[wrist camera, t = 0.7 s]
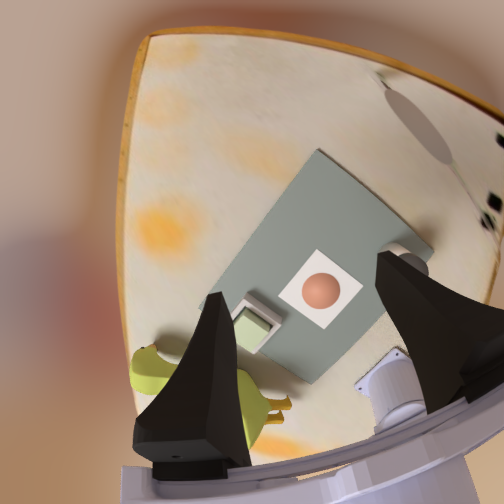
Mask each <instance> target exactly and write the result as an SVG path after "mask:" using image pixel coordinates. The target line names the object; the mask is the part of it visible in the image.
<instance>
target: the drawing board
mask: <svg viewBox="0 0 504 504" xmlns="http://www.w3.org/2000/svg"><path fill="white" fill-rule="evenodd" d="M390 242H395V243H398V244H400V245H401V246H402V247H404V248H405V249H407V250H408V251H409V252H411V253H413V254H415V255H417V256H418V257H420V258H421V259H422V260H423V261H424V262H425V263H426V262H427V261H428V259H429V258H430V257H431V256H432V254H433V253H434V251H433V250H432V249H431V248H430V247H429V246H428V245H427V244H426V243H425V242H424V241H423V240H422V239H421V238H420V237H419V236H418V235H417V234H416V233H415V232H414V231H413V230H412V229H410V228H409V227H408V226H407V225H406V224H405V223H404V222H403V221H402V220H401V219H400V218H399V217H398V216H397V215H395V214H394V213H393V212H392V211H391V210H390V209H389V208H388V207H387V206H385V205H384V204H383V203H382V202H381V201H380V200H379V199H378V198H376V197H375V196H374V195H373V194H372V193H371V192H369V191H368V190H367V189H366V188H365V187H363V186H362V185H361V184H360V183H359V182H357V181H356V180H355V179H354V178H353V177H351V176H350V175H349V174H348V173H346V172H345V171H344V170H343V169H341V168H340V167H339V166H338V165H336V164H335V163H334V162H333V161H331V160H330V159H329V158H327V157H326V156H325V155H323V154H322V153H321V152H319V151H318V150H317V149H316V150H315V152H314V153H313V154H312V156H311V157H310V158H309V160H308V161H307V162H306V164H305V165H304V166H303V168H302V169H301V170H300V172H299V173H298V174H297V176H296V177H295V178H294V180H293V181H292V182H291V184H290V185H289V186H288V188H287V189H286V190H285V192H284V193H283V194H282V196H281V197H280V198H279V200H278V201H277V202H276V204H275V205H274V206H273V208H272V209H271V210H270V212H269V213H268V214H267V216H266V217H265V218H264V220H263V221H262V222H261V224H260V225H259V226H258V228H257V229H256V230H255V232H254V233H253V234H252V236H251V237H250V238H249V240H248V241H247V243H246V244H245V245H244V247H243V248H242V249H241V251H240V252H239V253H238V255H237V256H236V257H235V259H234V260H233V261H232V263H231V264H230V265H229V267H228V268H227V270H226V271H225V272H224V274H223V275H222V276H221V278H220V279H219V280H218V282H217V283H216V284H215V286H214V287H213V289H212V290H211V291H210V293H209V294H211V293H216V292H220V291H222V294H223V296H224V299H225V301H226V304H227V307H228V309H229V312H230V314H231V317H232V320H233V322H234V321H235V319H236V318H237V317H238V316H239V315H240V313H241V312H242V311H243V310H244V309H245V307H248V308H249V309H250V310H252V311H253V312H254V313H256V314H257V315H259V316H260V317H262V318H263V319H264V320H266V321H267V322H269V323H270V329H269V333H268V334H267V335H266V336H265V337H264V339H263V340H262V341H261V342H260V343H259V344H258V345H257V346H256V347H255V348H254V349H253V350H252V351H251V353H252V354H255V353H256V352H257V351H259V352H261V353H262V354H264V355H265V356H267V357H268V358H270V359H271V360H273V361H275V362H276V363H278V364H279V365H281V366H282V367H284V368H285V369H287V370H288V371H290V372H292V373H293V374H295V375H296V376H298V377H299V378H301V379H303V380H304V381H306V382H308V383H309V384H313V383H314V382H315V381H316V380H317V379H318V378H319V377H320V376H321V375H323V374H324V373H325V372H326V371H327V370H328V369H329V368H330V367H331V366H332V365H333V364H334V363H335V362H336V361H337V360H339V359H340V358H341V357H342V356H343V355H344V354H345V353H346V352H347V351H348V350H349V349H350V348H351V347H352V346H353V345H354V344H355V343H356V342H357V341H358V340H359V339H360V338H361V337H362V336H363V335H364V334H365V333H366V331H367V330H368V329H369V328H370V327H371V326H372V325H373V324H374V323H375V322H376V321H377V320H378V319H379V318H380V317H381V315H382V314H383V313H384V312H385V311H386V309H385V307H384V305H383V304H382V301H381V299H380V297H379V295H378V292H377V290H376V287H375V278H376V266H377V253H378V251H379V250H380V248H381V247H382V246H383V245H385V244H387V243H390ZM205 301H206V298H205V299H204V301H203V302H202V304H201V305H200V306H199V309H200V310H201V311H202V310H203V307H204V304H205Z"/></svg>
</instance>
